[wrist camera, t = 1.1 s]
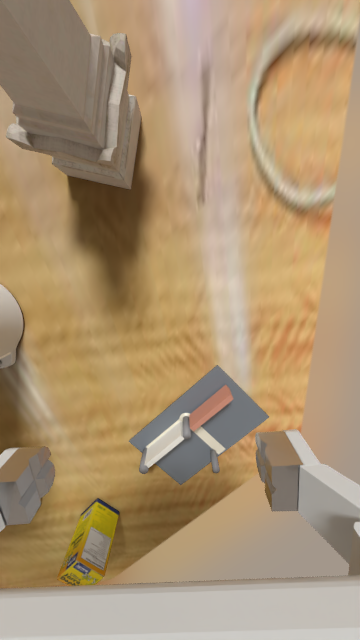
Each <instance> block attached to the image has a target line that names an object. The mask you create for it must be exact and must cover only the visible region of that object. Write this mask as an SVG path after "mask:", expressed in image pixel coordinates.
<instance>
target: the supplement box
mask: <svg viewBox="0 0 360 640" xmlns="http://www.w3.org/2000/svg"><path fill="white" fill-rule="evenodd" d="M118 516H119V511H117V510H115V509H114V508H112V507H111V506H109V505H107V504H106V503H104V502H103V501H101V500H100V499H98V498H97V499H96V500H95V501H94V502H93V503H92V504H91V505H90V506H89V507H88V508H87V509H86V510H85V511H84V512H83V513H82V514H81V517H80V519H79V522H78V525H77V527H76V530H75V532H74V535H73V537H72V540H71V543H70V545H69V548H68V551H67V553H66V556H65V558H64V561H63V564H62V566H61V569H60V571H59V574H58V577H57V580H60V581H61V582H63V583H65V584H67V585H68V586H83V585H95V584H97V583H98V582H99V581H100V580H101V579H102V578H103V577H104V576H105V571H106V567H107V563H108V559H109V554H110V550H111V546H112V542H113V538H114V533H115V529H116V525H117V521H118Z"/></svg>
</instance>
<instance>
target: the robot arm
mask: <svg viewBox="0 0 360 640" xmlns="http://www.w3.org/2000/svg"><path fill="white" fill-rule="evenodd" d="M22 332H23V317H22V313H21V310H20V307H19V305H18V303H17V301H16V300H15V298H14V297H13V296H12V294H11V293H10V292H9V291H8V290H7V289H6V288H5V287H3V286H2V285H1V284H0V360H1V361H2V362H1V361H0V368H5V367H9V366H11V365H13V364H14V363H15V361H16V347H17V345H18V343H19V341H20V339H21V336H22ZM255 439H256V444H257V447H258V449H257V451H256V462H257V468H258V472H259V475H260V478H261V480H262V482H264V483H265V493H266V496H267V499H268V502H269V504H270V507H271V510H272V511H298V512H299V514H301V516H302V517H303V518H304V519H305V520H306V521H307V522H308V523H309V524H310V525H311V526H312V527H313V528H314V529H315V530H316V531H317V532H318V533H319V534H320V535H321V536H322V537H323V538H324V539H325V540H326V541H327V542H328V543H329V544H330V545H331V546H332V547H333V548H334V549H335V550H336V551H337V552H338V553H339V554H340V555H341V556H342V557H343V558H344V559H345V560H346V562H348V563H349V574H348V576H321V577H294V578H267V579H241V580H215V581H189V582H165V583H138V584H112V585H111V584H110V585H83V586H55V587H27V588H1V589H0V640H360V485H358V484H356V483H355V482H353V481H351V480H350V479H348V478H347V477H345V476H343V475H342V474H340V473H339V472H337V471H335V470H334V469H332V468H331V467H329V466H327V465H326V464H320V462H319V461H318V460H317V458H316V456H315V455H314V453H313V452H312V450H311V449H310V447H309V446H308V444H307V443H306V441H305V440H304V439H303V437H302V435H301V434H300V432H299V431H298V430H296V429H294V430H283V431H274V432H260V433H256V436H255ZM50 455H51V453H50V450H49V448H48V447H45V446H43V447H21V448H9V449H6V450H5V451H4V452H3V453H2V454H1V455H0V532H1V531H2V530H3V529H4V528H5V527H6V526H5V525H16V524H28V523H30V522H31V520H32V519H33V517H34V515H35V514H36V512H37V510H38V508H39V507H40V505H41V498H42V497H43V496H44V495H45V494H47V493H48V492H49V490H50V488H51V486H52V484H53V481H54V477H55V468H54V464H53V463H52V462H51V461H49V460H48V459H49V457H50Z"/></svg>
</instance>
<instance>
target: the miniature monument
mask: <svg viewBox="0 0 360 640" xmlns="http://www.w3.org/2000/svg"><path fill="white" fill-rule="evenodd" d="M130 64H131V53H130V49H129V45H128V41H127V36H126V34H123V33H117V34H113V35H112V36H111V37H110V43H109V42H107V41H105V40H102V39H101V37H100V36H97V35H93V34H89V32H88V30H87V29H86V27H85V25H84V24H83V22H82V20H81V19H80V17H79V16H78V14H77V12H76V11H75V9H74V7H73V6H72V4H71V2H70V1H69V0H0V85H1V86H2V88H3V89H4V90H5V92H6V93H7V94H8V96H9V97H10V98H11V100H12V101H13V113H14V114H15V115H16V123H17V124H11V125H9V127H8V130H7V135H6V137H7V138H8V139H9V140H11V141H12V142H14V143H15V144H16V145H18V146H19V147H21V148H22V149H26V150H30V151H35V152H39V153H44V154H48V155H51V156H52V157H53V158H52V164H53V165H54V166H55V167H57V168H58V169H59V170H61V171H62V172H63V173H65V174H66V175H68V176H72V177H77V178H81V179H85V180H90V181H94V182H99V183H103V184H108V185H112V186H116V187H121V188H125V189H130V190H131V186H132V179H133V172H134V165H135V158H136V151H137V144H138V137H139V130H140V123H141V113H140V110H139V106H138V102H137V99H136V96H133V95H129V94H128V91H127V87H128V79H129V72H130Z"/></svg>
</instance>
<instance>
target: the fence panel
mask: <svg viewBox="0 0 360 640" xmlns="http://www.w3.org/2000/svg"><path fill="white" fill-rule="evenodd" d="M232 400H233V396H232V394H231V391H230V388H229V387H228V386H227V385H225V386H223V387H222V388H221V389H220V390H219V391H217V392H216V393H215V394H214V395H213V396H211V397H210V398H209V399H208V400H207V401H205V402H204V403H203V404H202V405H201V406H199V407H198V408H197V409H196V410H194V411H193V412H192V413H191V414H190V415H189V422H190V428H191V429H192V430H193V431H195V430H196V429H197V428H199V427H200V426H201V425H202V424H204V423H205V422H206V421H207V420H209V419H210V418H211V417H212V416H213V415H215V414H216V413H217V412H218V411H220V410H221V409H222V408H223V407H225V406H226V405H227V404H228V403H229V402H231V401H232Z"/></svg>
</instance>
